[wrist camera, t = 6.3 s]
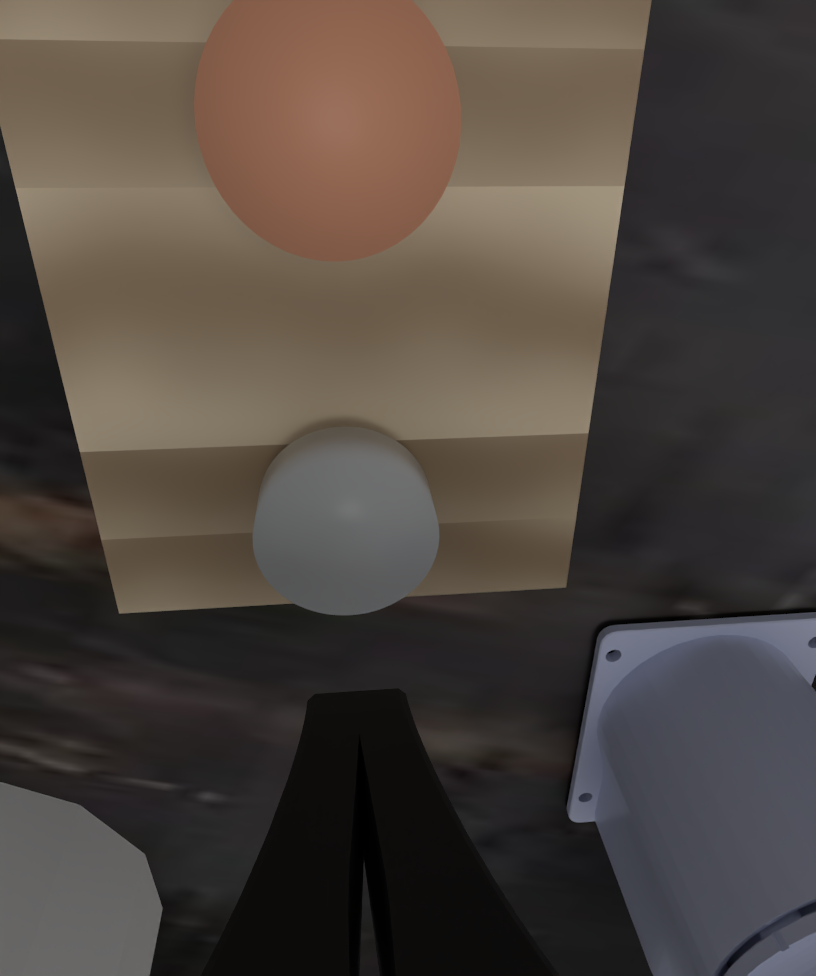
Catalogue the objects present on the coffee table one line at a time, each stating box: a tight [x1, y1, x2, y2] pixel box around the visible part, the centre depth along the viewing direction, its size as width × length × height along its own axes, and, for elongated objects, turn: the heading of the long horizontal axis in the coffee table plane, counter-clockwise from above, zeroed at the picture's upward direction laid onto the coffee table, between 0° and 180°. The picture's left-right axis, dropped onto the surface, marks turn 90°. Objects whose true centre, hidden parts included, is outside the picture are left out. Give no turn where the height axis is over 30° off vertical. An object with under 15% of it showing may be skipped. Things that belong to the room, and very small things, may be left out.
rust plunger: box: [194, 0, 461, 262], centre depth 12 cm, size 4×4×4 cm
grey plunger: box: [252, 427, 439, 615], centre depth 17 cm, size 4×4×4 cm
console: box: [0, 0, 651, 613], centre depth 16 cm, size 15×12×2 cm
